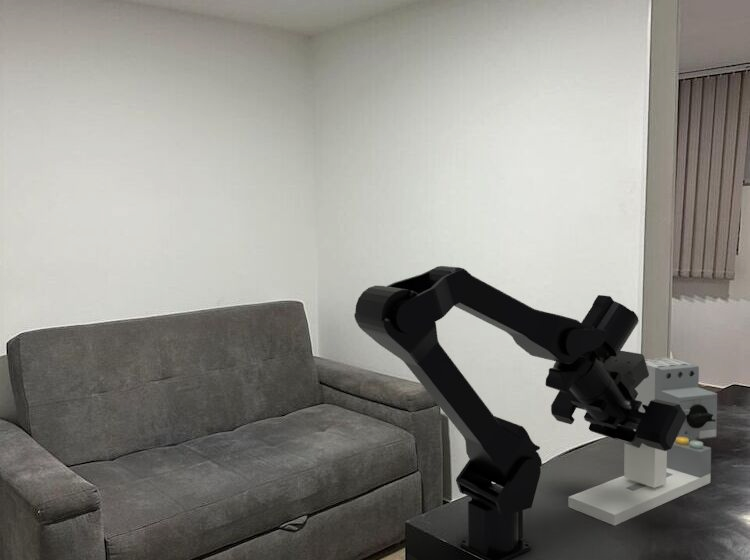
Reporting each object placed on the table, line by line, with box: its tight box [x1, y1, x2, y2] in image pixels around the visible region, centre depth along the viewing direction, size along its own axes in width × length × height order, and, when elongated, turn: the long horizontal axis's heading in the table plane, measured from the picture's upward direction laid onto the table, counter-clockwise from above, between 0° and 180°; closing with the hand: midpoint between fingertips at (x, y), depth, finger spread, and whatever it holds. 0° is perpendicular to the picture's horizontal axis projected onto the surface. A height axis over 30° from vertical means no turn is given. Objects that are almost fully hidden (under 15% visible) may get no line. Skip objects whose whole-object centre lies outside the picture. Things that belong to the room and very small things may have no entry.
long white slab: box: [567, 437, 712, 526], centre depth 102 cm, size 24×8×6 cm, turn 126°
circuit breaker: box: [635, 357, 718, 442], centre depth 120 cm, size 8×14×15 cm, turn 15°
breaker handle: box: [623, 443, 667, 488], centre depth 102 cm, size 3×5×9 cm, turn 36°
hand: (638, 444), depth 101 cm, fingers closed, pressing on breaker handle
